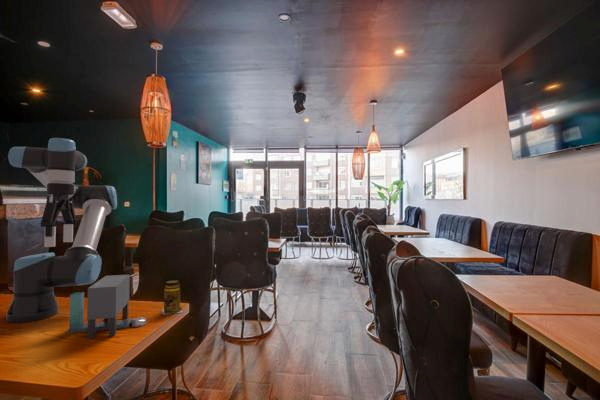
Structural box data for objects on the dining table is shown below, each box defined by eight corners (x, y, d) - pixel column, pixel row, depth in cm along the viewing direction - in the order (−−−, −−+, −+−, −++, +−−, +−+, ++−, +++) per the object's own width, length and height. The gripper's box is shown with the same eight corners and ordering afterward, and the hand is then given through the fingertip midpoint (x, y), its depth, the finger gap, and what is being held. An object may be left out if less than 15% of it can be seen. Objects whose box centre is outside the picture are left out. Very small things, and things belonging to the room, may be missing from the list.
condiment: (162, 315, 118) (163, 284, 118) (161, 309, 126) (162, 279, 126) (182, 312, 121) (183, 282, 122) (180, 306, 129) (181, 278, 129)
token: (132, 323, 111) (132, 318, 111) (147, 321, 112) (147, 316, 112) (128, 328, 106) (129, 323, 106) (144, 326, 107) (144, 321, 107)
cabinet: (104, 318, 114) (105, 275, 114) (128, 316, 116) (129, 274, 117) (86, 339, 97) (87, 288, 97) (115, 336, 99) (116, 286, 99)
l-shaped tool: (67, 333, 101) (68, 295, 101) (74, 328, 106) (75, 291, 106) (128, 328, 106) (129, 292, 106) (132, 322, 111) (133, 288, 111)
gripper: (64, 185, 117) (62, 240, 117) (27, 179, 93) (25, 249, 93) (87, 185, 119) (85, 240, 119) (56, 180, 96) (55, 248, 95)
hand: (59, 244), depth 106 cm, fingers open, 13 cm apart
